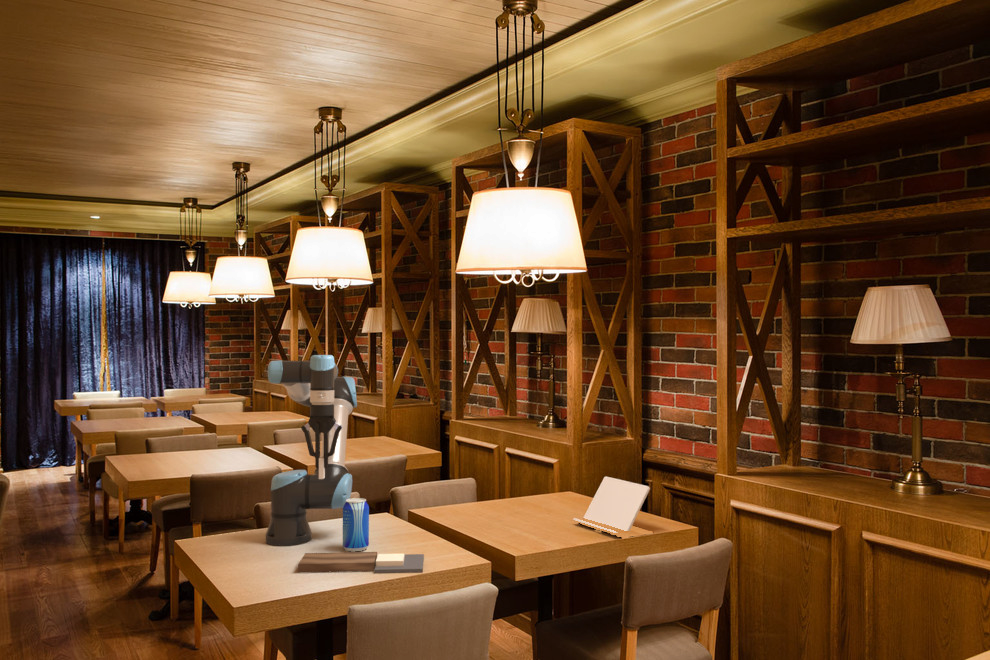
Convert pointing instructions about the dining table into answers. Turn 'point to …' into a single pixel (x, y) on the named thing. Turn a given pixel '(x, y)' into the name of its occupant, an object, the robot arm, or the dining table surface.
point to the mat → (404, 565)
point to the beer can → (355, 524)
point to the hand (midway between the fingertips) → (321, 478)
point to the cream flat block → (390, 560)
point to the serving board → (338, 562)
